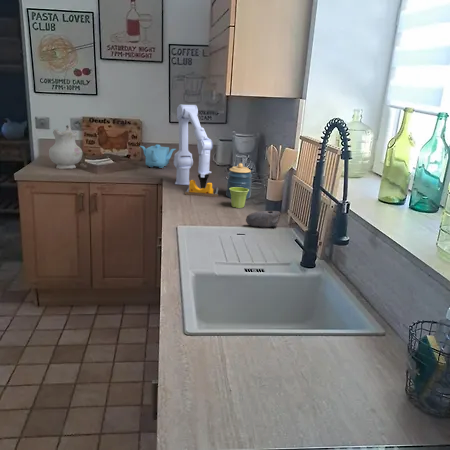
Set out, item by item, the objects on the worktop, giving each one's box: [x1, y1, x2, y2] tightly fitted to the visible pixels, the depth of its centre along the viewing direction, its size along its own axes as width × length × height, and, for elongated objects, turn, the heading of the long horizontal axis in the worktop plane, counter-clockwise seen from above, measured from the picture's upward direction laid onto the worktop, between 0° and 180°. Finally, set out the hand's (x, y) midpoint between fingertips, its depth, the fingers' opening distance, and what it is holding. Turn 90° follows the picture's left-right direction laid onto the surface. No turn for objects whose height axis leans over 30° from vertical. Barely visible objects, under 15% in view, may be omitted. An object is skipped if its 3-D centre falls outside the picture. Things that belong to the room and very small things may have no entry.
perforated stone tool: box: [245, 210, 282, 228], centre depth 197 cm, size 15×5×7 cm, turn 94°
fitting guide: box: [184, 186, 219, 198], centre depth 248 cm, size 16×17×2 cm
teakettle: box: [139, 144, 177, 169], centre depth 304 cm, size 19×19×15 cm
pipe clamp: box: [188, 179, 214, 194], centre depth 245 cm, size 12×4×6 cm, turn 66°
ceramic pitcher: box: [48, 124, 83, 170], centre depth 285 cm, size 22×20×25 cm
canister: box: [225, 162, 253, 200], centre depth 242 cm, size 13×13×18 cm
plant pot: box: [229, 187, 249, 209], centre depth 224 cm, size 9×9×9 cm
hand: (202, 188), depth 247 cm, fingers closed, pressing on pipe clamp
